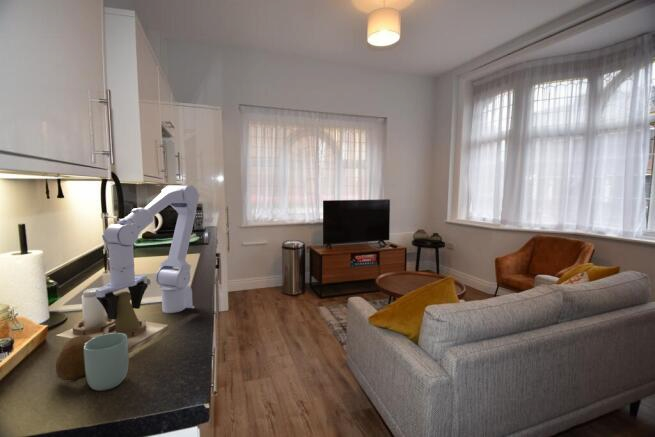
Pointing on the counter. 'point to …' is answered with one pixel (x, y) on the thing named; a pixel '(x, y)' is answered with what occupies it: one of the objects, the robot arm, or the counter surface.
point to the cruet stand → (133, 336)
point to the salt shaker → (92, 310)
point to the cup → (106, 360)
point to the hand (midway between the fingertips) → (124, 313)
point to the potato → (72, 359)
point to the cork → (125, 314)
